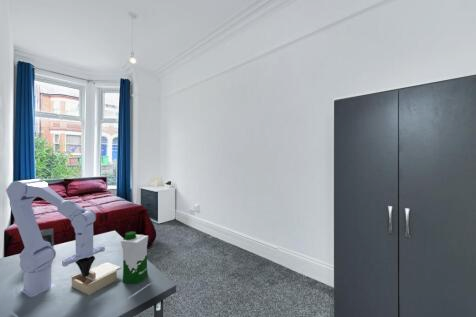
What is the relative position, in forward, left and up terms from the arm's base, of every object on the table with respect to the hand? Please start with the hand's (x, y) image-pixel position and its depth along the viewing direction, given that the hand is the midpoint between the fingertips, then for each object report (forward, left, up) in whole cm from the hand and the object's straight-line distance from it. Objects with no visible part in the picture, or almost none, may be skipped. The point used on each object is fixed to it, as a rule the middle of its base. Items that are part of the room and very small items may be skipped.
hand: (85, 275), depth 85 cm
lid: (0, +6, -2) cm, 6 cm away
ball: (0, +2, -5) cm, 5 cm away
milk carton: (+12, +14, -6) cm, 19 cm away
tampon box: (-44, +3, -6) cm, 44 cm away
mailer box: (0, +4, -5) cm, 6 cm away
